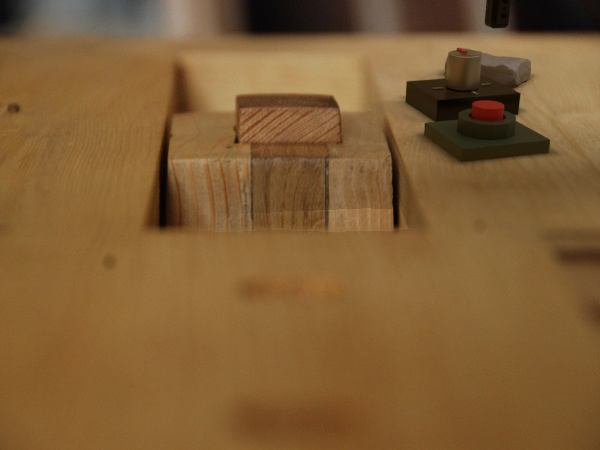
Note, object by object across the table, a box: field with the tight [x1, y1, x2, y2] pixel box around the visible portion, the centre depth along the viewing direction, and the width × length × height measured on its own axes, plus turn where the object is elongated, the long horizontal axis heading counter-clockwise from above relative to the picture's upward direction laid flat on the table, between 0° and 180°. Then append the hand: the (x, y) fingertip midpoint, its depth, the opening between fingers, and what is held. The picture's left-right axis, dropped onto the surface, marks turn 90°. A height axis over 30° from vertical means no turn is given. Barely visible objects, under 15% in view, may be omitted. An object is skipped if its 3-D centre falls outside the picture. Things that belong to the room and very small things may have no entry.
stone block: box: [444, 47, 532, 89], centre depth 126 cm, size 12×5×10 cm
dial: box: [445, 47, 482, 91], centre depth 109 cm, size 4×4×5 cm
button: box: [471, 100, 504, 122], centre depth 94 cm, size 4×4×2 cm
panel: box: [405, 75, 521, 122], centre depth 111 cm, size 12×10×3 cm
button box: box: [423, 109, 551, 163], centre depth 95 cm, size 11×10×4 cm
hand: (496, 26), depth 91 cm, fingers closed
